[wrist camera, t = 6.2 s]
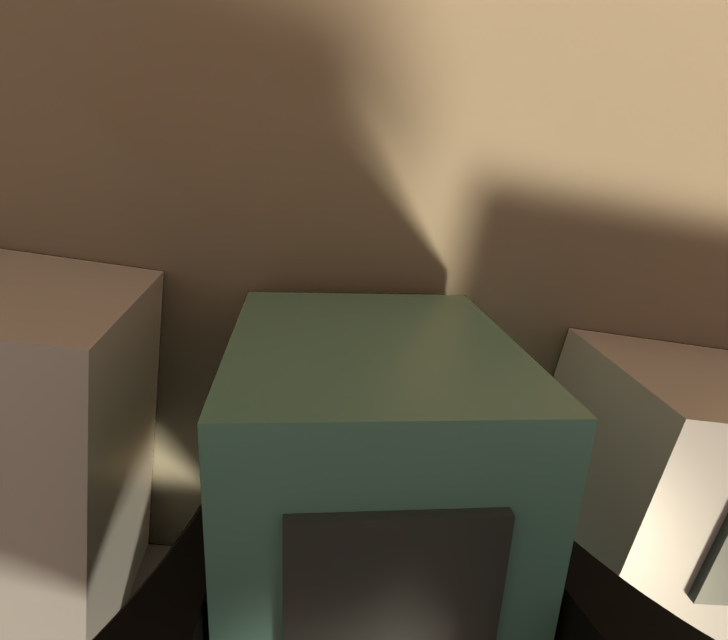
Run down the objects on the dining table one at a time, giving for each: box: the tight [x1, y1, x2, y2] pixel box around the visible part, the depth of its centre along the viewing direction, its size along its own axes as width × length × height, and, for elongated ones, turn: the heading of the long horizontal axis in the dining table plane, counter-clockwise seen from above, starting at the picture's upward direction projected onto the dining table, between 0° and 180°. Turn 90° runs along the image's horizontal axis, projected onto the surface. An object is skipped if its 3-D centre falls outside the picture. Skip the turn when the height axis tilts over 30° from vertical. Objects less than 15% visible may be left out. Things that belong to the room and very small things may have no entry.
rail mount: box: [0, 249, 728, 640], centre depth 12 cm, size 26×10×5 cm, turn 80°
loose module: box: [197, 292, 598, 640], centre depth 10 cm, size 5×7×6 cm
